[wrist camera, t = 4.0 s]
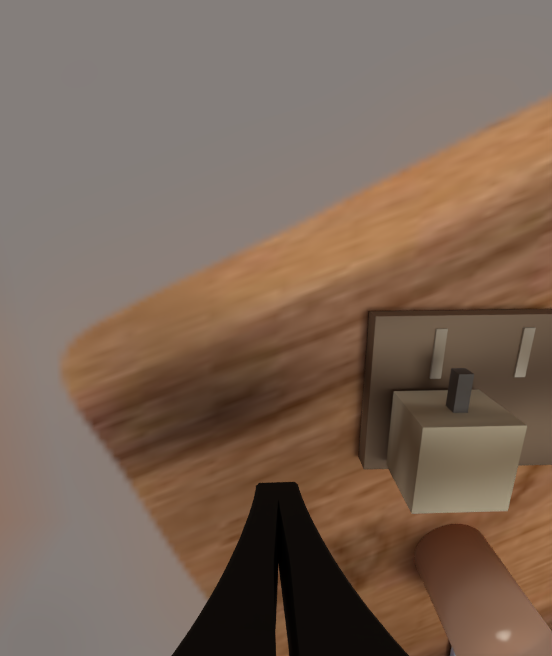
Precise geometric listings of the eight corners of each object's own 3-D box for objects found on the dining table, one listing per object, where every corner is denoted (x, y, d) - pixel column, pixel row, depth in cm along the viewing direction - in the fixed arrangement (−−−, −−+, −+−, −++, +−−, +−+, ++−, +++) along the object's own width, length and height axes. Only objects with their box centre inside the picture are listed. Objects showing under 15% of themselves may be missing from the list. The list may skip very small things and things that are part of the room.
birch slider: (465, 462, 17) (507, 510, 14) (386, 464, 17) (411, 513, 14) (484, 355, 15) (536, 384, 12) (397, 356, 15) (428, 386, 12)
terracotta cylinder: (480, 579, 21) (545, 684, 16) (410, 581, 21) (454, 688, 16) (492, 522, 19) (566, 617, 15) (418, 524, 19) (468, 621, 15)
